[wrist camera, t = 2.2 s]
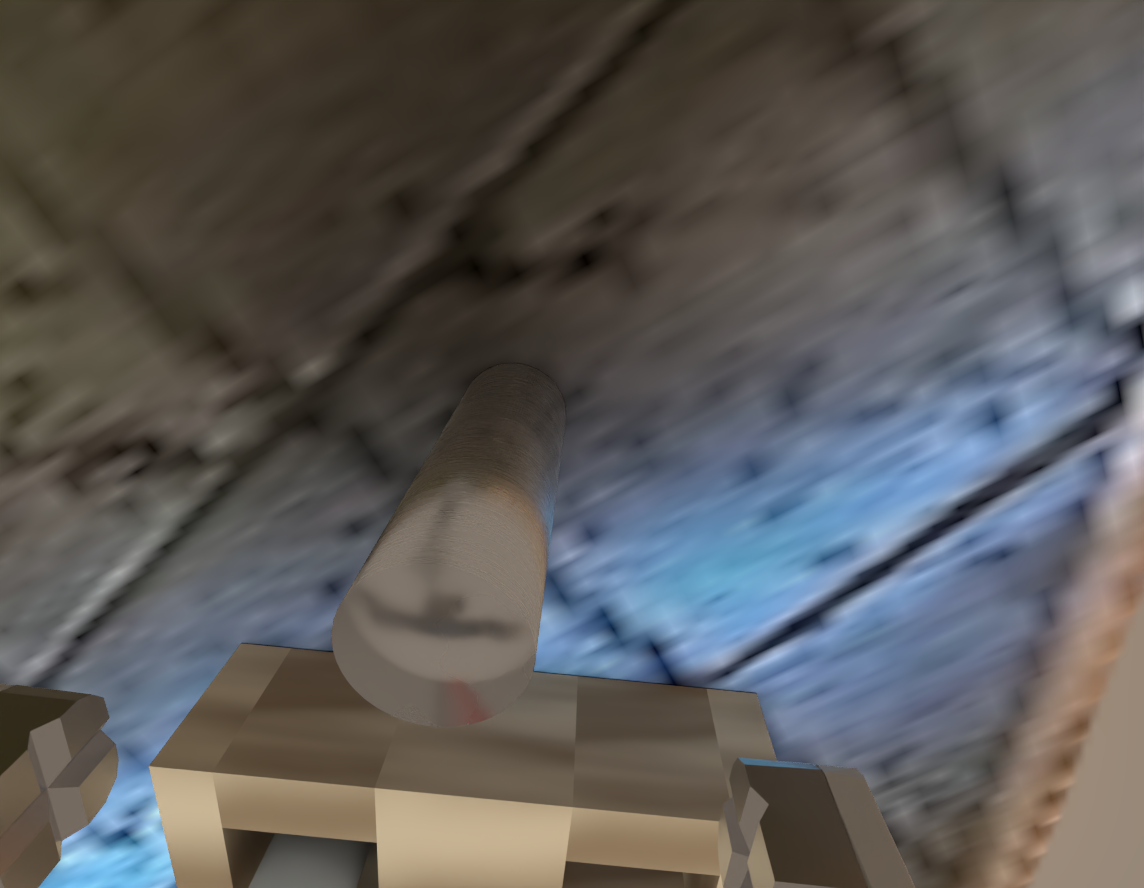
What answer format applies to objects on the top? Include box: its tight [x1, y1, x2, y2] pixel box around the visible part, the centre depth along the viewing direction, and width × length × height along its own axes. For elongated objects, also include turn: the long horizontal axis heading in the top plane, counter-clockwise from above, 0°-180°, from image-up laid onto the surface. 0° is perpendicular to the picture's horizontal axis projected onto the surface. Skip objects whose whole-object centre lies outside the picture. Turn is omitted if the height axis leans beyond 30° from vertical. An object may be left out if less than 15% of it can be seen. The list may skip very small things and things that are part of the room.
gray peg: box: [249, 833, 372, 888], centre depth 20 cm, size 3×3×10 cm
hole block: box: [149, 643, 777, 888], centre depth 22 cm, size 9×18×5 cm, turn 85°
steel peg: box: [332, 363, 566, 727], centre depth 14 cm, size 3×3×10 cm
